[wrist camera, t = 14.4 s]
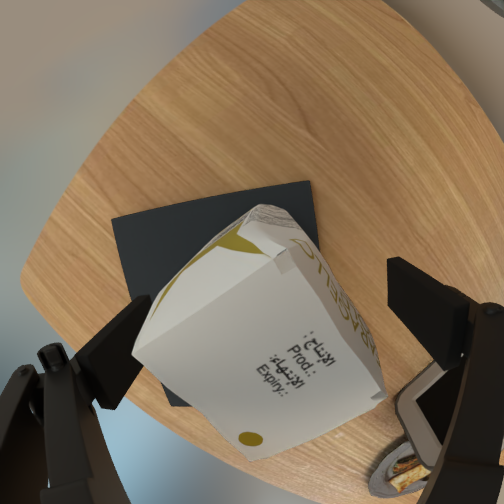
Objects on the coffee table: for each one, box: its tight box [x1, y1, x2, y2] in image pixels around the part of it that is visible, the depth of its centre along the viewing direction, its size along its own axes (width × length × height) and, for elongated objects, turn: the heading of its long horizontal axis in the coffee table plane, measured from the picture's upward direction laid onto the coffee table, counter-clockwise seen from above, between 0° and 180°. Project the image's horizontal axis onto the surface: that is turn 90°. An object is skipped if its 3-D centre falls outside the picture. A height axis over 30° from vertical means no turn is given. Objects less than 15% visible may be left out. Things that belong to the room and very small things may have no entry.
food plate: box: [368, 441, 432, 498], centre depth 32 cm, size 25×23×4 cm
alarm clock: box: [394, 353, 504, 472], centre depth 23 cm, size 16×11×16 cm
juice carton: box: [132, 204, 388, 462], centre depth 18 cm, size 8×9×19 cm
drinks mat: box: [111, 180, 320, 406], centre depth 29 cm, size 24×20×1 cm
